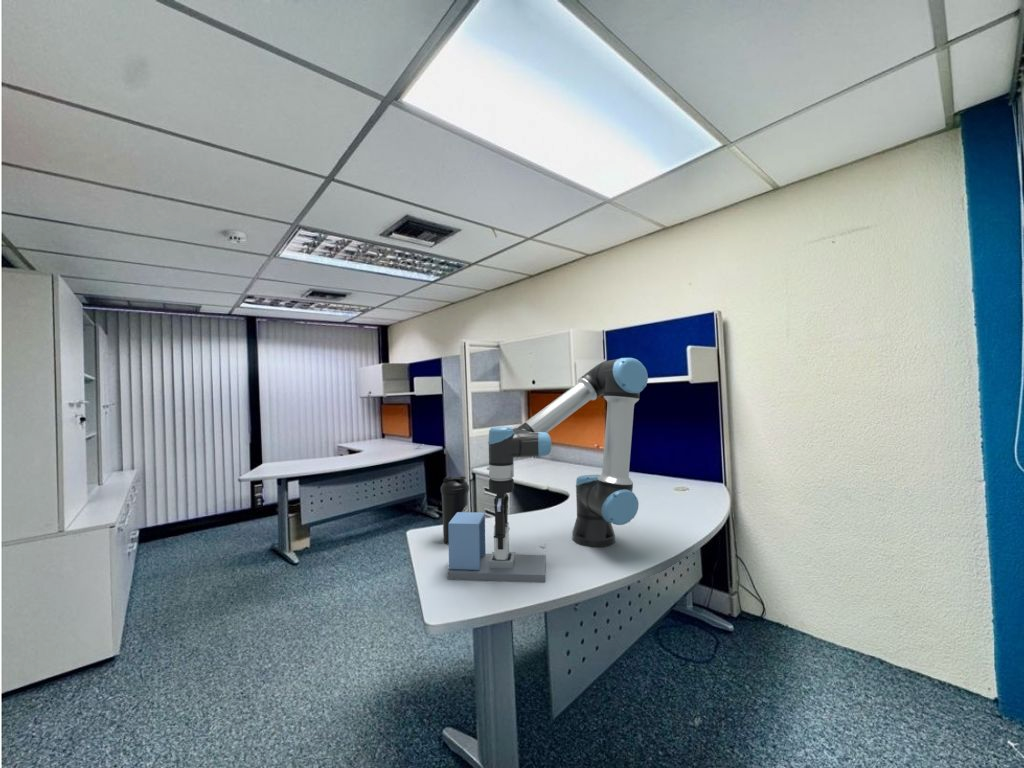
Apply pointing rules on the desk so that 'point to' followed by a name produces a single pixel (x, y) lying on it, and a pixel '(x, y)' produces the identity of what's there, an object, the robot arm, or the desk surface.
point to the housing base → (505, 569)
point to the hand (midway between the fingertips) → (501, 555)
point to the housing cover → (466, 540)
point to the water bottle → (453, 500)
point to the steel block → (505, 540)
